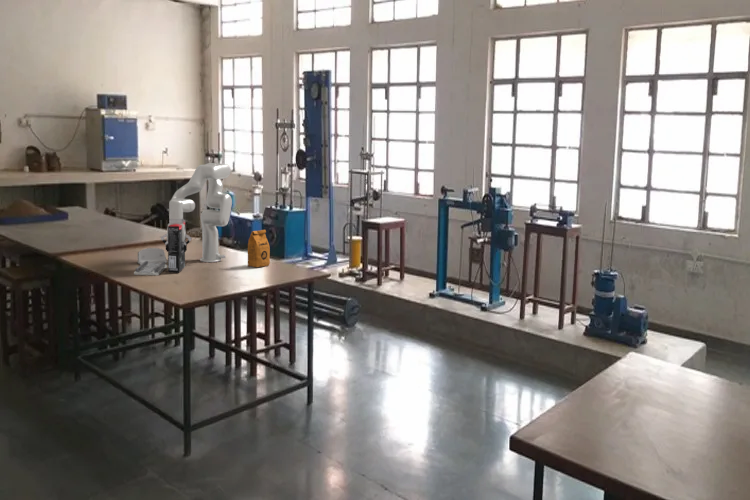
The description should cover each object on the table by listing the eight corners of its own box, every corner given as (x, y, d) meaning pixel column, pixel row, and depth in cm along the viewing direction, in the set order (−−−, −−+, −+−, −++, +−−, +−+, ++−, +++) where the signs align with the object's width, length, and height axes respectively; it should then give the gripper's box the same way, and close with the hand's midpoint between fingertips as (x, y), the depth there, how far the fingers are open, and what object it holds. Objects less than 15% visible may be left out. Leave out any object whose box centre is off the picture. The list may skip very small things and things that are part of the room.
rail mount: (167, 267, 398) (166, 261, 397) (158, 275, 376) (158, 269, 376) (144, 266, 397) (144, 260, 396) (134, 274, 375) (133, 268, 375)
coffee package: (272, 266, 411) (272, 230, 407) (255, 269, 402) (256, 232, 398) (261, 263, 418) (262, 228, 414) (245, 266, 408) (245, 230, 405)
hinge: (139, 265, 401) (137, 248, 402) (137, 266, 404) (135, 249, 405) (167, 262, 410) (165, 246, 411) (165, 263, 414) (163, 247, 415)
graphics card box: (174, 266, 399) (173, 221, 393) (186, 267, 399) (185, 221, 394) (167, 273, 382) (166, 225, 377) (180, 273, 382) (179, 225, 377)
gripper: (193, 221, 390) (192, 251, 392) (162, 220, 388) (162, 250, 391) (190, 223, 382) (190, 253, 385) (159, 221, 381) (159, 252, 384)
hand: (176, 251), depth 388 cm, fingers open, 9 cm apart
